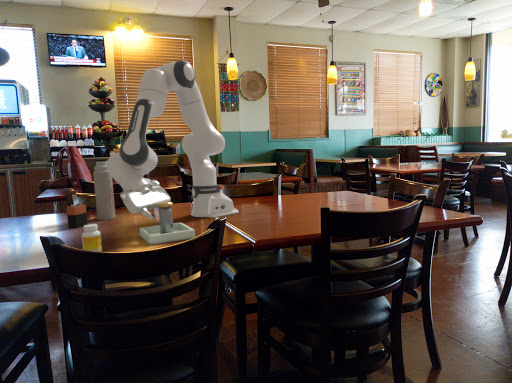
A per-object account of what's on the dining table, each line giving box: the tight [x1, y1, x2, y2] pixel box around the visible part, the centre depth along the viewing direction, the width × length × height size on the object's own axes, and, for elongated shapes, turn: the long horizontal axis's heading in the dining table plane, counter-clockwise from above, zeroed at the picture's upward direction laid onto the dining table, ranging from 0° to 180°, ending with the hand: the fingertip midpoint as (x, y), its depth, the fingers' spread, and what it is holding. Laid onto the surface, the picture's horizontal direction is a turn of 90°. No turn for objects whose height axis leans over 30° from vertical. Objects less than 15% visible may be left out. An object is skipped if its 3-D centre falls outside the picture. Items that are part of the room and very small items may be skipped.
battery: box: [66, 202, 88, 229], centre depth 163 cm, size 4×7×10 cm, turn 160°
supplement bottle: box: [81, 223, 103, 252], centre depth 118 cm, size 5×5×10 cm
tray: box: [139, 222, 196, 246], centre depth 139 cm, size 16×16×3 cm
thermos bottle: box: [92, 158, 116, 221], centre depth 178 cm, size 8×8×28 cm
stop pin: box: [157, 201, 174, 234], centre depth 138 cm, size 6×6×12 cm
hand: (161, 216), depth 139 cm, fingers open, 8 cm apart
